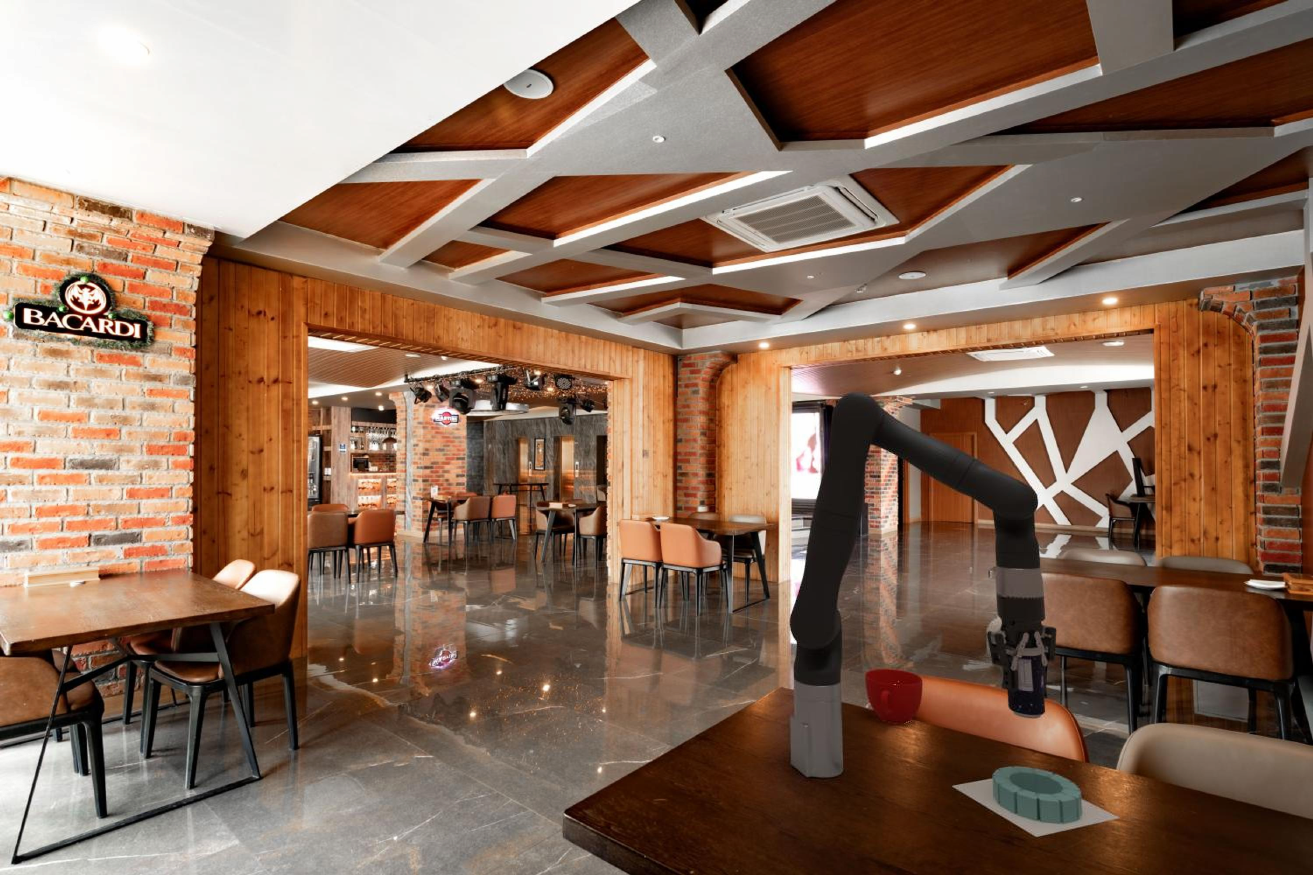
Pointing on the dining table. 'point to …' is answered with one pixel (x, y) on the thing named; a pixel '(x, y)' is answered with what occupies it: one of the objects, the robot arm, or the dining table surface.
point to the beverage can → (1028, 685)
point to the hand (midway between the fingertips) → (1025, 687)
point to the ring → (1037, 794)
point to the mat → (984, 795)
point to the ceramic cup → (894, 694)
